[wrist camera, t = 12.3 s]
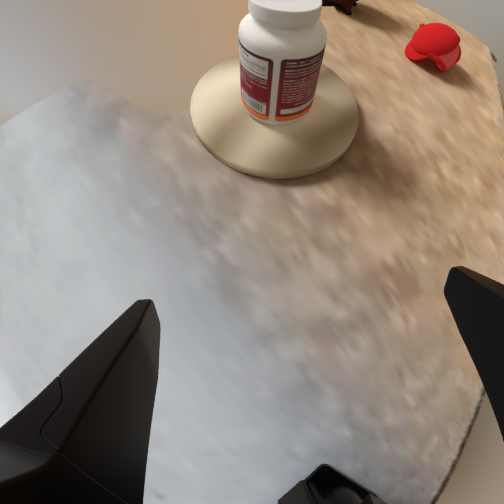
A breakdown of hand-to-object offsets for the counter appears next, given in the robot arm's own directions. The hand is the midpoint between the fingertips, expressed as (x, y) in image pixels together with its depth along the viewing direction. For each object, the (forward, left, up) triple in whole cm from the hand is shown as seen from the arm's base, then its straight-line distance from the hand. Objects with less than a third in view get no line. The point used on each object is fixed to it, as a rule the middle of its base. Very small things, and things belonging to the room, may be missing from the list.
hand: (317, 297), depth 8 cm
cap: (+5, -37, -14) cm, 40 cm away
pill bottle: (+12, -14, -13) cm, 22 cm away
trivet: (+12, -14, -14) cm, 23 cm away
